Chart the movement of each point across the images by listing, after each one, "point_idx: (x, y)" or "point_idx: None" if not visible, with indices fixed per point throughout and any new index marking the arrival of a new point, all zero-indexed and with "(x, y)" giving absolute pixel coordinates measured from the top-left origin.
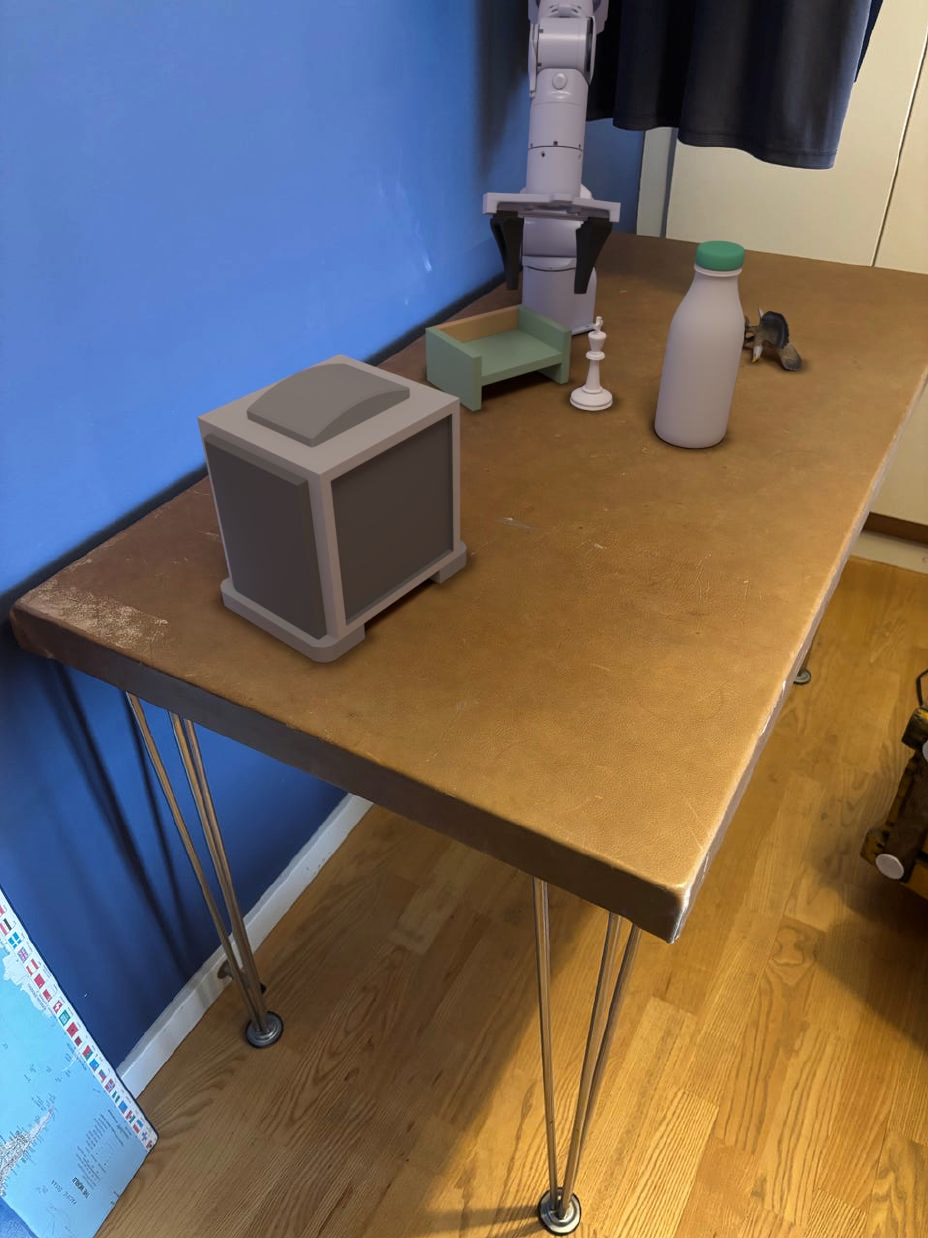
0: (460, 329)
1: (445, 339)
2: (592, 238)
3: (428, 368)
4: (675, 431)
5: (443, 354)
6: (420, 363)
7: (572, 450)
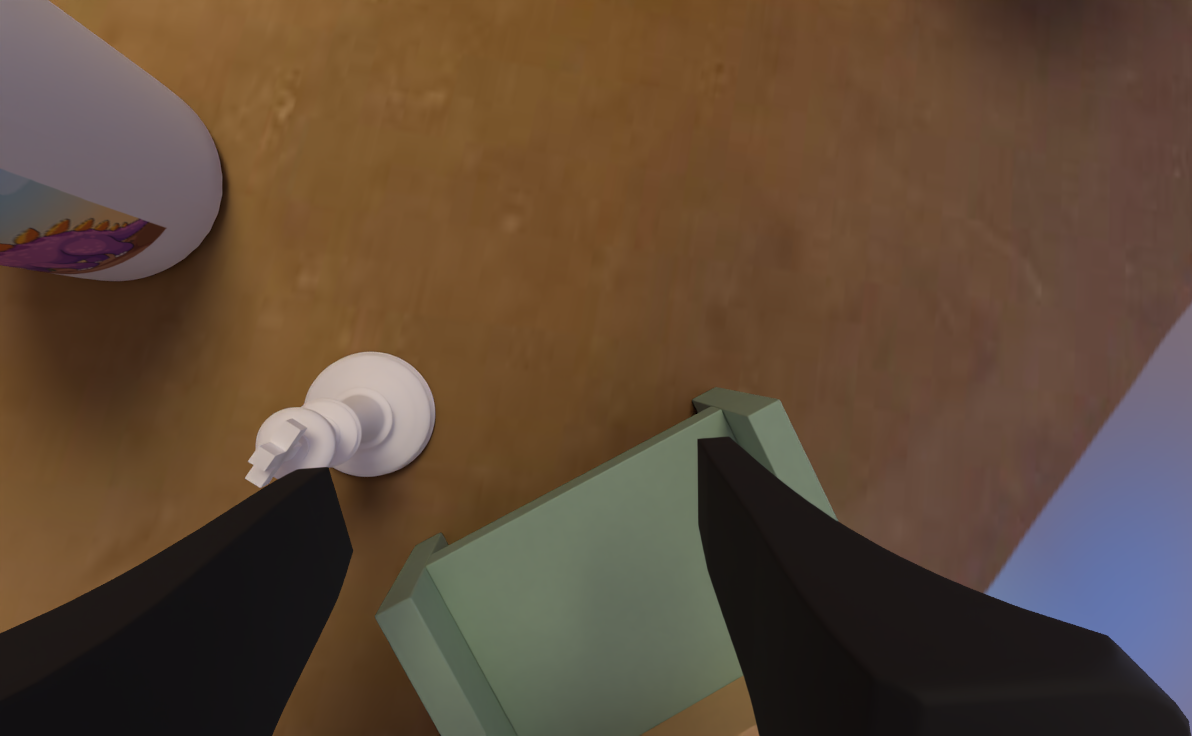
0: None
1: None
2: (42, 666)
3: None
4: (167, 88)
5: None
6: None
7: (486, 136)
